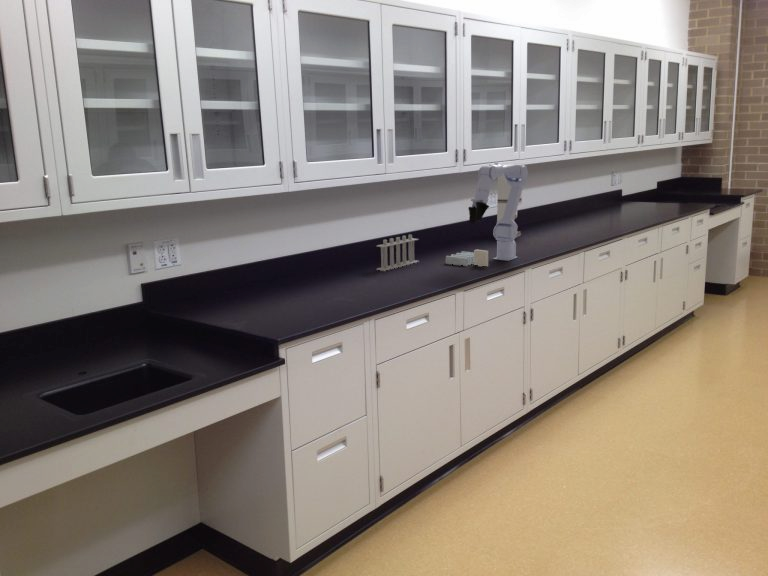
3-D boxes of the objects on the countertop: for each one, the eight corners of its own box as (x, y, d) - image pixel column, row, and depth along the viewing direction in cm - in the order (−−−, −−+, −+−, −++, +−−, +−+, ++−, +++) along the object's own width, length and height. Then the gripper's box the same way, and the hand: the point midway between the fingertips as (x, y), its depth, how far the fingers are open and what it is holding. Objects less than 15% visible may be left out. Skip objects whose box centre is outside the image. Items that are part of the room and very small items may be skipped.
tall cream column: (515, 238, 373) (516, 174, 365) (496, 237, 378) (497, 174, 370) (520, 235, 383) (522, 173, 375) (502, 234, 388) (503, 172, 380)
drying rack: (462, 258, 316) (462, 251, 315) (482, 261, 310) (482, 253, 309) (445, 263, 305) (445, 256, 304) (466, 266, 299) (466, 258, 298)
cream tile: (476, 264, 301) (476, 249, 300) (488, 266, 298) (488, 250, 296) (474, 265, 300) (474, 250, 298) (485, 267, 296) (486, 251, 295)
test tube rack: (411, 261, 313) (411, 233, 310) (419, 262, 310) (418, 234, 307) (376, 270, 294) (375, 240, 291) (384, 271, 292) (383, 241, 289)
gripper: (468, 192, 297) (460, 221, 295) (480, 185, 283) (472, 215, 281) (482, 197, 298) (475, 226, 297) (495, 190, 284) (487, 220, 282)
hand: (474, 221), depth 289 cm, fingers open, 7 cm apart
